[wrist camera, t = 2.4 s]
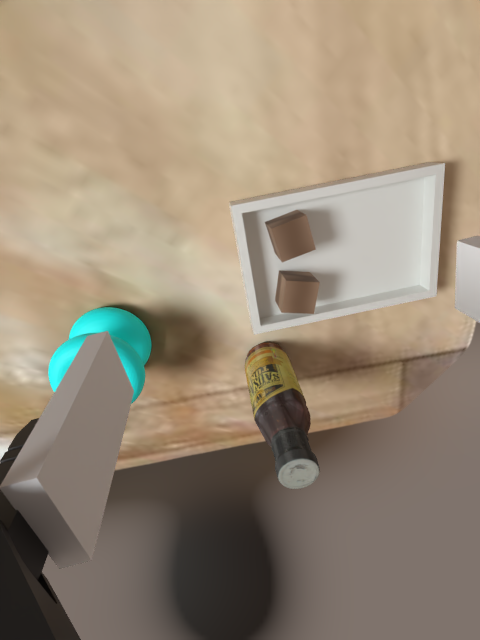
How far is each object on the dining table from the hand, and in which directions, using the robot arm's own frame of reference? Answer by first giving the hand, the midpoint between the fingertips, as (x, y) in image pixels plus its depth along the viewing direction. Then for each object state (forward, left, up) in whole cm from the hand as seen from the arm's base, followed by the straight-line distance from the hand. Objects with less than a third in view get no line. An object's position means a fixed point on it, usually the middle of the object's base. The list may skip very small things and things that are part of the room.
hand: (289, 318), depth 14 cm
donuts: (-17, -14, -32) cm, 39 cm away
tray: (+13, -8, -32) cm, 35 cm away
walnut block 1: (+7, -4, -31) cm, 32 cm away
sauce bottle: (+2, -22, -32) cm, 39 cm away
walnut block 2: (+7, -11, -31) cm, 34 cm away
